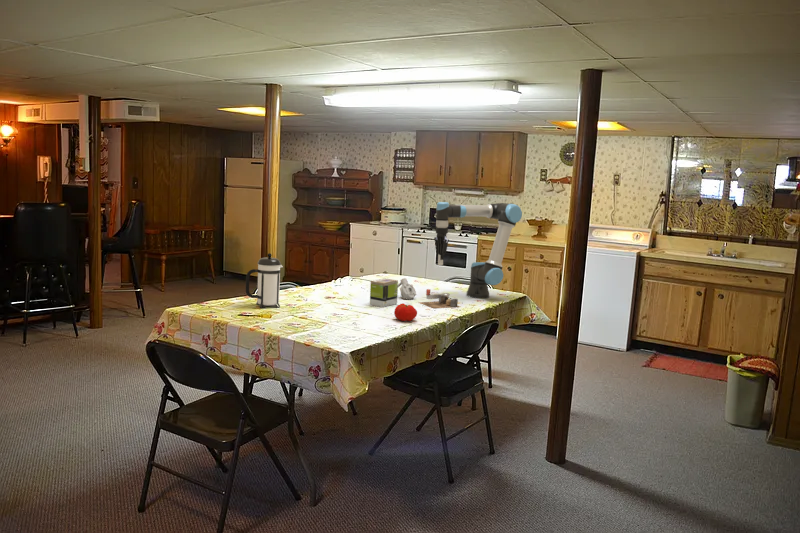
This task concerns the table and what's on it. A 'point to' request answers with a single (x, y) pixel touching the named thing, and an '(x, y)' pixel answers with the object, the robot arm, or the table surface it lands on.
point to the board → (443, 305)
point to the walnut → (448, 302)
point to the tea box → (383, 292)
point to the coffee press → (266, 281)
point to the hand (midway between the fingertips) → (440, 264)
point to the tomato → (405, 312)
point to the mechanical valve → (406, 289)
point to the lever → (437, 296)
